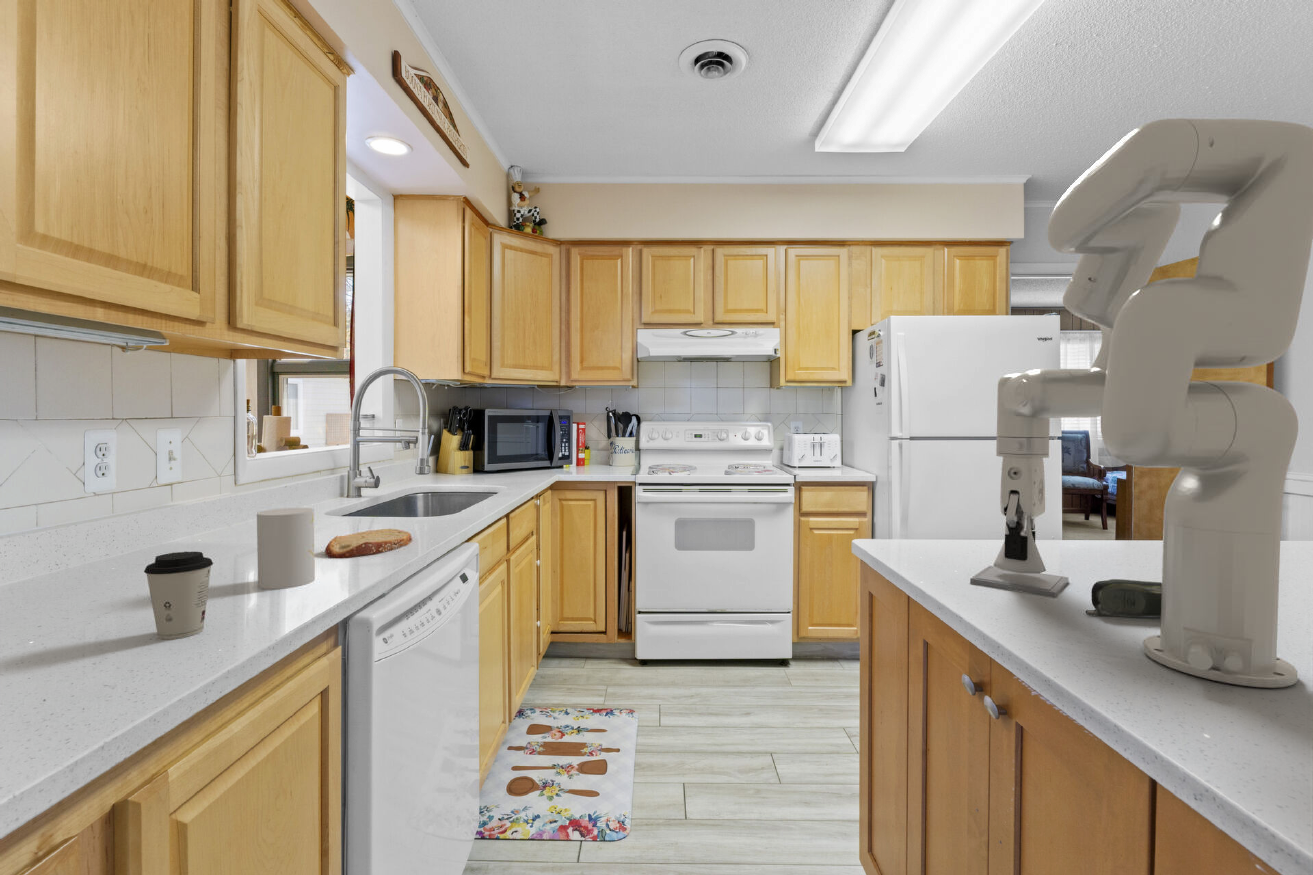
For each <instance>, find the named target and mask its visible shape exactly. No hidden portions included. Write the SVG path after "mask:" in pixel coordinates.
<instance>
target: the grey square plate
mask: <svg viewBox="0 0 1313 875" xmlns="http://www.w3.org/2000/svg"><path fill="white" fill-rule="evenodd" d="M1068 583H1069V577H1068V576H1061V575H1055V574H1049V573H1043V572H1042V573H1039V574H1031V573H1016V572H1011V571H1006V570H1002V569H999V568H997V567H995V566H993V565H988V566H987V567H985V568H984V569H983V570H981V571H979V572H978V573H976V574H975V575H973V576H972V577H970V581H969V584H972V585H979V586H984V587H988V588H989V587H992V588H995V587H996V589H1002V590H1008V591H1012V592H1013V591H1014V592H1019V591H1020V592H1019V593H1026V594H1031V593H1032V594H1031V595H1039V596H1043V595H1045V596H1044V597H1049V598H1056V597H1057V596H1058V595H1059V594H1060V592H1061V591H1062V590H1063V589H1064V588H1065V587H1066V586H1067V585H1068ZM1058 593H1059V594H1058Z"/></svg>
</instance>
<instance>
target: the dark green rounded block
mask: <svg viewBox="0 0 1313 875" xmlns="http://www.w3.org/2000/svg"><path fill="white" fill-rule="evenodd" d="M1090 593H1091V595H1090V596H1091V604H1092V606H1093V608H1094V609H1087V610H1085V614H1086V615H1088V616H1107V617H1119V618H1138V619H1139V618H1140V619H1141V618H1142V619H1158V620H1161V596H1162V581H1161V582H1160V581H1144V580H1143V581H1142V580H1134V579H1133V580H1131V579H1124V578H1123V579H1118V578H1113V579H1107V580H1098V581H1096V582H1095V583H1094V584H1093V585H1092V588H1091V592H1090Z"/></svg>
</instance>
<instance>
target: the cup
mask: <svg viewBox="0 0 1313 875" xmlns="http://www.w3.org/2000/svg"><path fill="white" fill-rule="evenodd" d="M314 514H315V512H314V508H309V507H287V508H276V509H267V510H262V511H259V512H257V513H256V539H257V540H256V541H257V543H256V544H257V545H256V546H257V549H256V550H257V552H256V553H257V586H258V588H259V589H262V590H286V589H292V588H296V587H301V586H305V585H308V584H311V583H313V582H315V580H316V574H315V572H316V569H315V568H316V567H315V566H316V565H315V520H314V519H315V515H314Z"/></svg>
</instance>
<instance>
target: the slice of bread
mask: <svg viewBox="0 0 1313 875" xmlns="http://www.w3.org/2000/svg"><path fill="white" fill-rule="evenodd" d="M411 541H412V542H413V539H412V535H411V533H410V532H408V531H405V530H400V529H397V528H396V529H395V528H384V529H376V530H368V531H367V530H365V531H361V532H356V533H352V534H351V533H350V534H346V535H336V536H334V538H333V539H331V540H330V541H329V542H328V544H326V547H325V549H324V553H325V555H326V556H327V557H328V559H352V558H357V557H366V556H368V557H369V556H373V555H379V554H383V553H388V552H389V553H390V552H391V551H396V550H398V549H401V548H403V547H406V546H408V545H410V544H411V543H412V542H411ZM409 543H410V544H409Z"/></svg>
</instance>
